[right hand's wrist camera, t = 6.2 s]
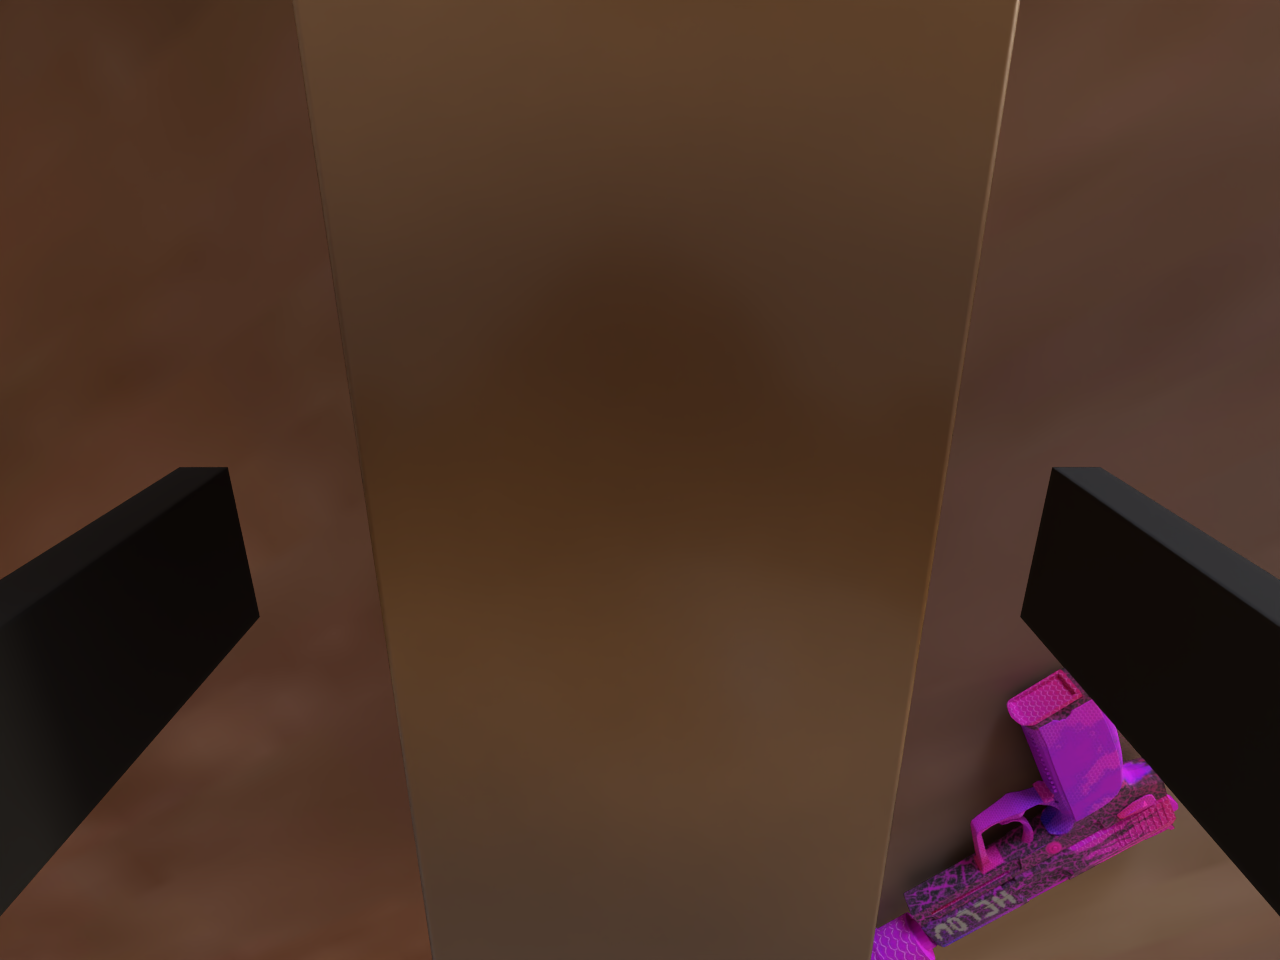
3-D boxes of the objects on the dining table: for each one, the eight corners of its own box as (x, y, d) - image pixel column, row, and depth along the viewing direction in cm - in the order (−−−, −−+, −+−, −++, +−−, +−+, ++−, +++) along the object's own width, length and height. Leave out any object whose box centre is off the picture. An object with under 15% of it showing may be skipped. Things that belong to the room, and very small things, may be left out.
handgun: (1072, 654, 27) (1104, 688, 25) (1176, 787, 29) (1212, 827, 27) (628, 934, 31) (627, 980, 30) (744, 1031, 33) (750, 1079, 32)
